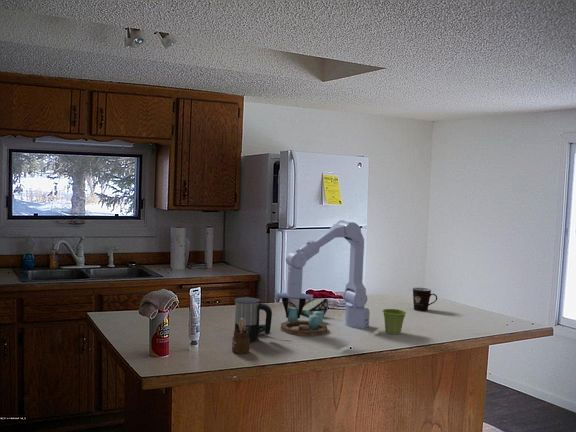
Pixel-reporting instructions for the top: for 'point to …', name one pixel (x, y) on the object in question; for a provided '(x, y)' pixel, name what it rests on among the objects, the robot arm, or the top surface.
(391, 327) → the plant pot
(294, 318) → the bead
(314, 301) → the food container
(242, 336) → the brown bottle
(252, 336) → the milk frother
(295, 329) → the groove tray
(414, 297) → the coffee mug
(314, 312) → the loose bead
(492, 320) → the top surface
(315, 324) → the seated bead
